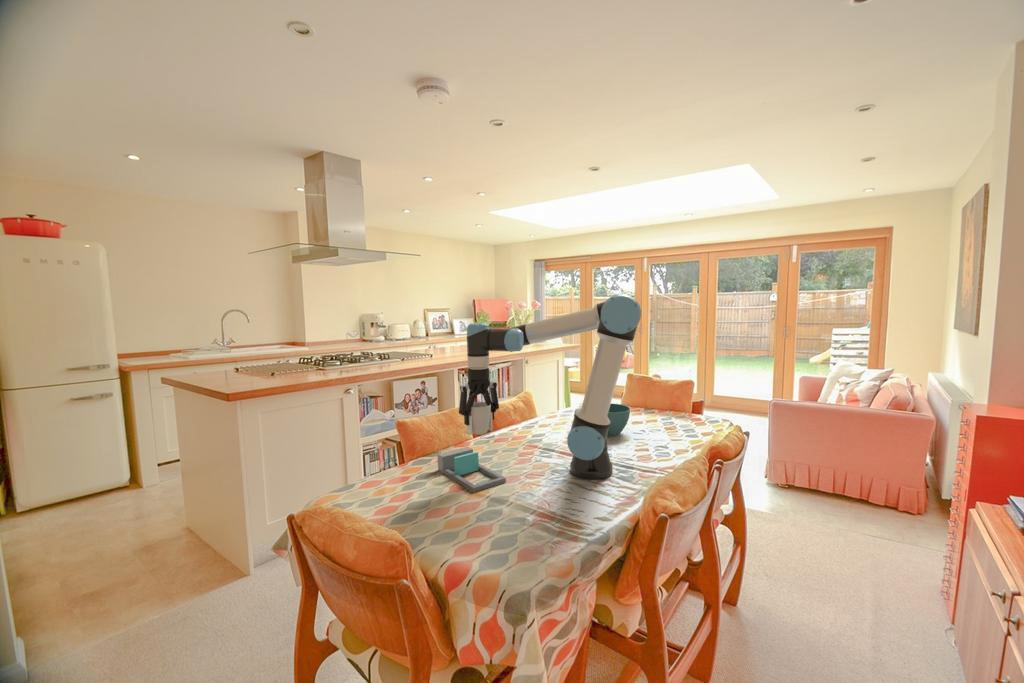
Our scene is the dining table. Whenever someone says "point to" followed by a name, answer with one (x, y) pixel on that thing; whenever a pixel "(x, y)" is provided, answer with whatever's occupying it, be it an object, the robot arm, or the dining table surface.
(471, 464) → the block
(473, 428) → the cup
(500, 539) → the dining table surface
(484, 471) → the tray
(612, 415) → the teal bowl
